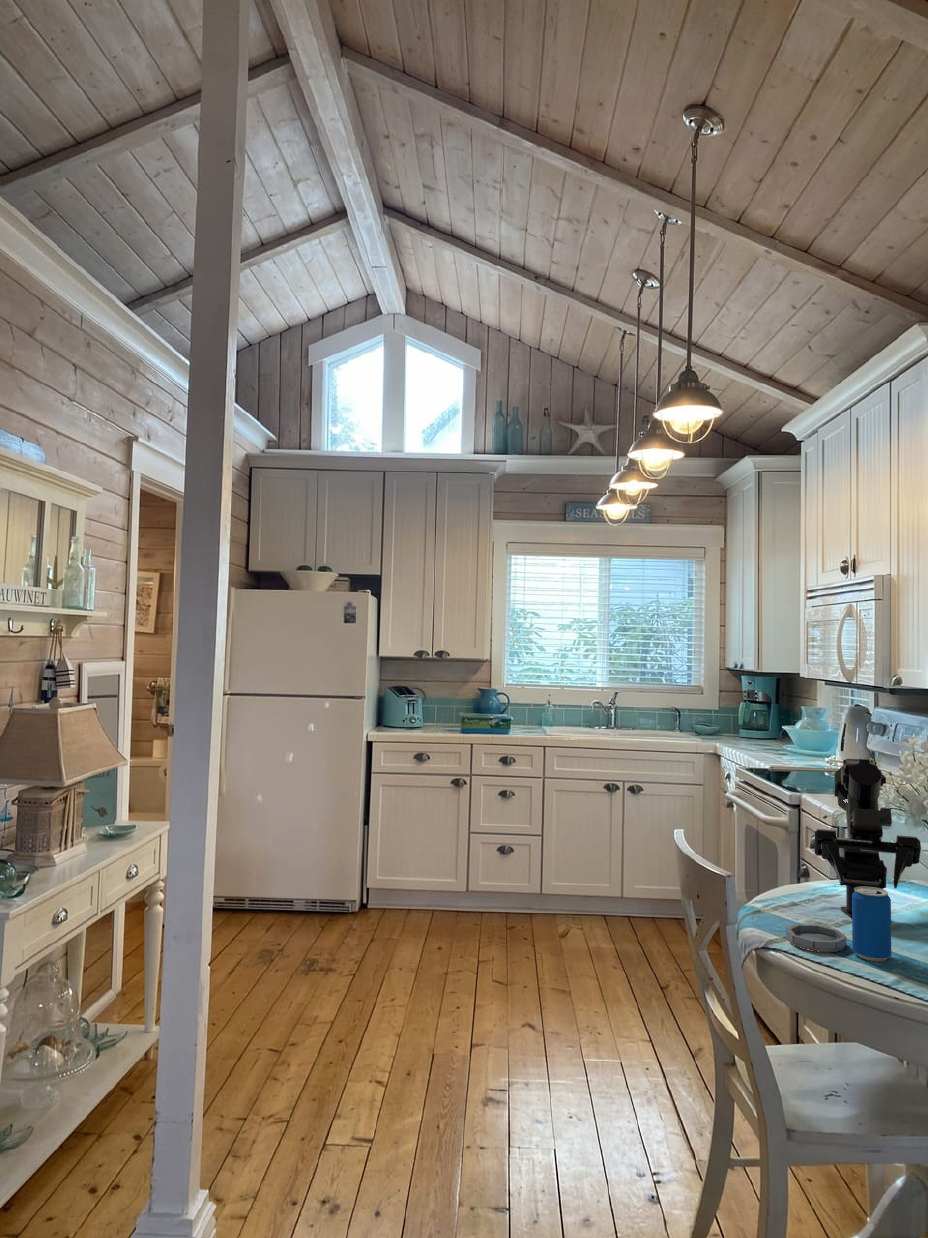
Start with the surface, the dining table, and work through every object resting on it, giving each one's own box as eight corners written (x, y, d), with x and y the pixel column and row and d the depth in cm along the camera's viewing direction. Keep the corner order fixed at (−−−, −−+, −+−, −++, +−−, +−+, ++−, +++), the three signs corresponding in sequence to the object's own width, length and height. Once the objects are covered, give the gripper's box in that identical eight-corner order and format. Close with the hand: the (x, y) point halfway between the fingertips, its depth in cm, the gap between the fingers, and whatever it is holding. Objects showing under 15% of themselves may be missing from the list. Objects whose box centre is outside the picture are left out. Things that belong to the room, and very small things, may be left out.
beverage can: (898, 963, 151) (897, 896, 152) (862, 963, 151) (862, 895, 152) (880, 950, 158) (879, 885, 158) (846, 950, 158) (845, 885, 158)
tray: (781, 933, 166) (781, 923, 166) (832, 935, 166) (832, 925, 166) (797, 952, 156) (797, 941, 156) (852, 953, 156) (852, 942, 156)
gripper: (814, 788, 169) (815, 856, 158) (919, 795, 162) (928, 866, 151) (813, 820, 176) (815, 887, 165) (914, 828, 169) (922, 898, 158)
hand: (868, 884), depth 160 cm, fingers open, 9 cm apart
